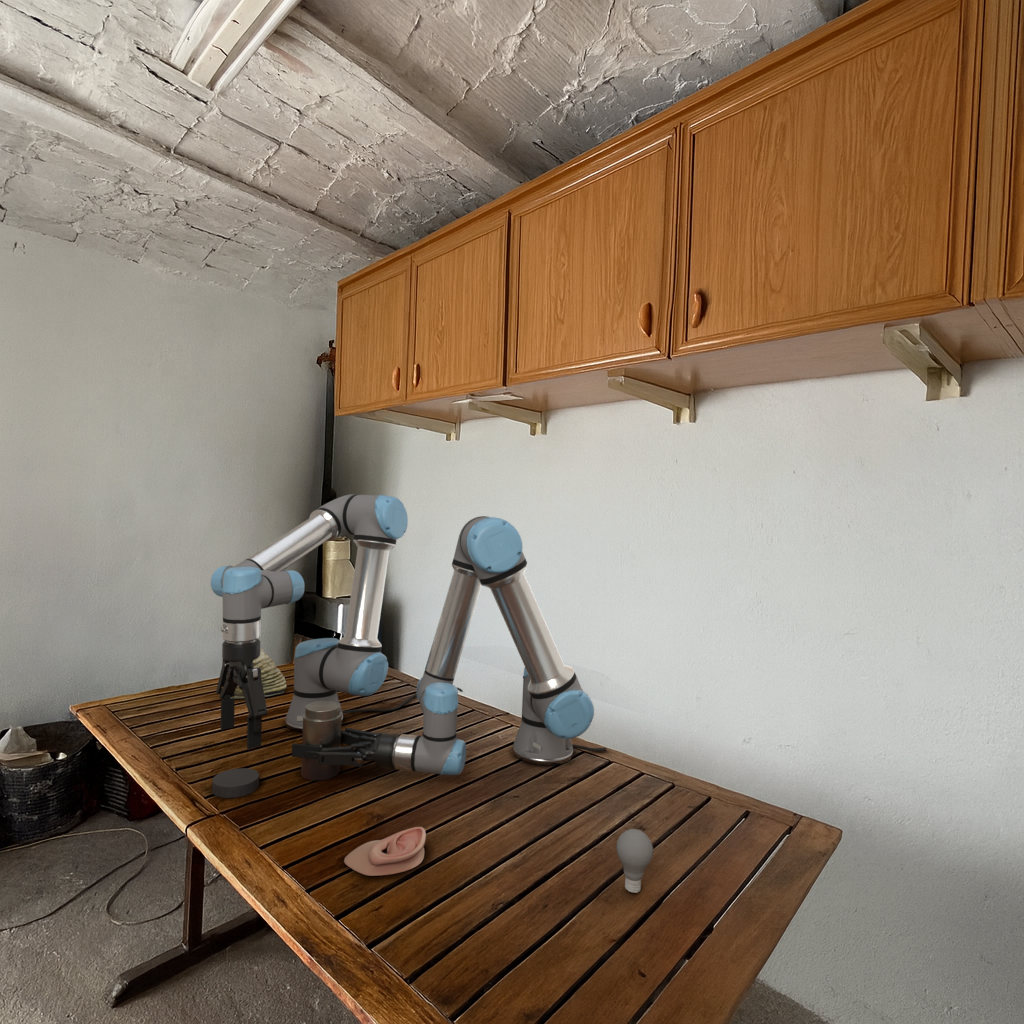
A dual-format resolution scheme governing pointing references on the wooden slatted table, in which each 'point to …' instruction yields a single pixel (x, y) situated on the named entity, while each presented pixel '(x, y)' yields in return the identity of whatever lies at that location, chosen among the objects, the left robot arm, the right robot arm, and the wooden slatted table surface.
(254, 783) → the lid
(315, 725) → the jar
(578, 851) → the wooden slatted table surface
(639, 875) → the light bulb
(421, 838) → the anatomical model
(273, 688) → the fossil
